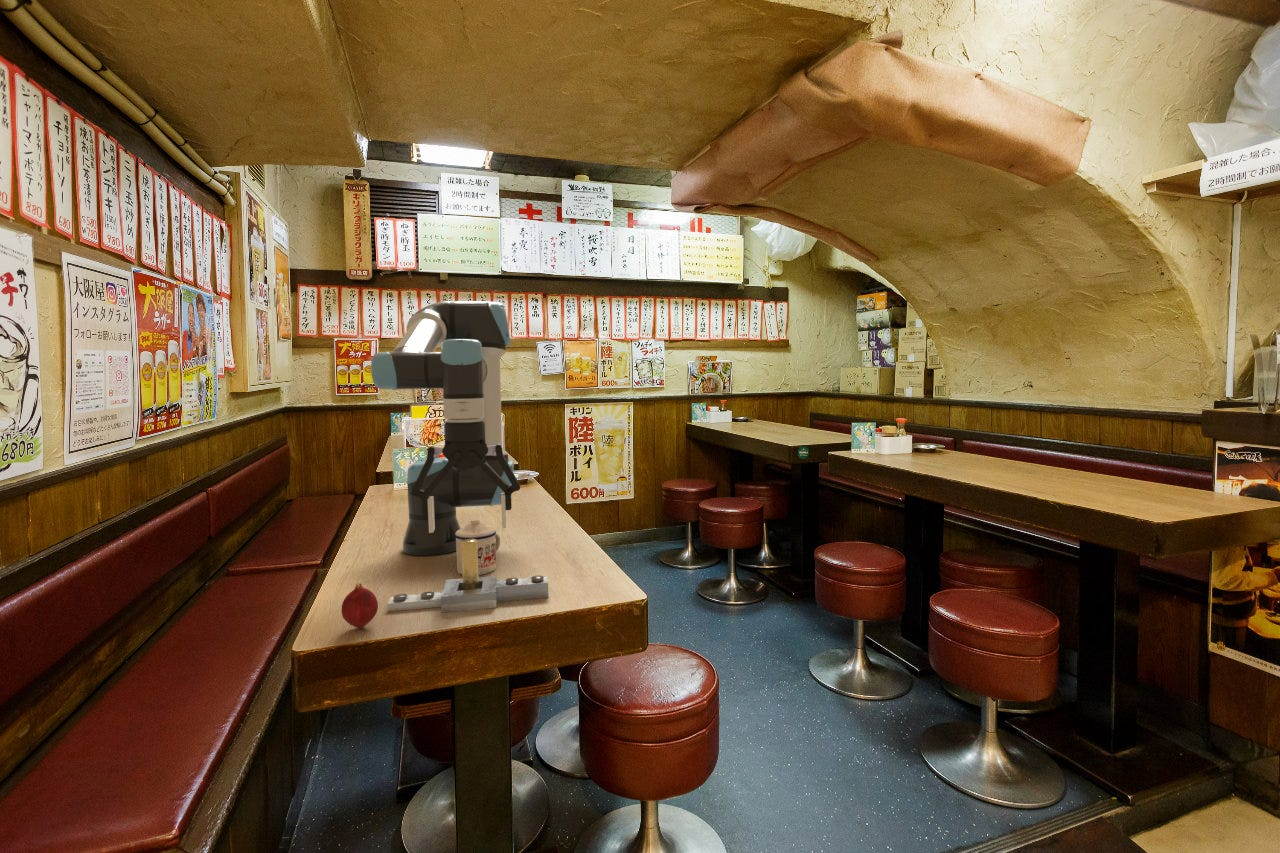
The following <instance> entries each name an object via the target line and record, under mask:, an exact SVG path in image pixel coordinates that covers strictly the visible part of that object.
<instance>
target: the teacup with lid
mask: <svg viewBox="0 0 1280 853" xmlns="http://www.w3.org/2000/svg"><path fill="white" fill-rule="evenodd" d="M455 537H456V568H457V569H456V571H457V573H458V574H460V575H462V549H461V541H462V540H465V539H477V549H478V576H481V575H482V576H483V575H486V574H490V573H491V572H493V571H495V570H496V569H497V555H496V553H497V552H498V551H499V549H500V546H501V536H500V535H499V534H498V533H497V531H496V529H495V528H494V527H493V526H488V525H486V524H484V523H481V521H480V519H479V518H478V519H476V518H474V519H471V521H470V524H467V525H466V526H464V527H461V529H459V530H458V531H456V533H455Z"/></svg>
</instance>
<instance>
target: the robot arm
mask: <svg viewBox="0 0 1280 853" xmlns="http://www.w3.org/2000/svg"><path fill="white" fill-rule="evenodd" d="M506 311H507V310H506V307H505V305H504V304H503V303H502V302H499V301H488V300H484V301H483V300H482V301H480V300H478V301H477V300H475V301H472V300H470V301H469V300H468V301H463V300H462V301H455V300H453V301H452V300H445V301H437V302H435V303H434V302H433V303H431V304H429V305H427V306H424V307H423V308H421V309H419V310H417V311H416V312H415V313H414V314H413V315H412V316H411V317H410V319H409V320H408V322H407V324H406V332H405V333H404V335H403V336H402V338H401V339H400V341H399V342H398V344H396V346H395V347H394V349H393V351H384V352H383V351H382V352H375V353H374V354H373V356H372V358H371V364H370V372H371V379H372V382H373V384H374V386H375V387H376V388H377V389H379V390H392V391H396V390H399V391H400V390H428V389H430V390H431V389H432V390H433V389H437V390H439V389H441V390H442V392H443V393H442V400H443V401H442V403H443V407H442V408H443V419H445V420H446V421H445V423H444V424H443V431H444V445H443V447H438V446H434V445H429V447H428V448H427V450H426V451H427V452H426V454H427V455H426V459H424V460H421V461H418V462H414V463H412V464H411V465H409V466H408V468H407V479H406V485H407V503H408V524H407V527H406V530H405V533H404V537H403V540H402V552H403V553H404V554H406V555H411V556H419V557H420V556H422V557H423V556H437V555H443V554H448V553H452V552H455V551H456V537H455V533H456V531H458V530H459V529H462V527H461V525H460V523H459V520H458V516H457V508H465V507H466V508H467V507H486V506H487V507H489V506H490V507H493V506H499V505H500V506H501V529H507V511H511V510H512V494H513V493H515V492H518V491H520V489H521V484H520V482H519V480H518V478H517V476H516V475H515V473H514V466H515V462H514V460H511V459H509V453H508V452H507V451H506V450H505V449H504V447H503V430H502V428H503V426H502V421H503V420H502V391H501V390H502V389H501V388H502V387H501V385H502V384H501V383H502V382H501V358H502V357H503V356H504V355H505V354H506V353H507V352H506V347H509V346H511V344H512V342H511V336H510V330H509V324H508V317H507V312H506ZM439 347H441V350H440V351H436V349H437V348H439ZM440 455H443V457H439V456H440ZM456 552H457V551H456Z"/></svg>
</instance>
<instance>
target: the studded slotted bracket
mask: <svg viewBox="0 0 1280 853" xmlns="http://www.w3.org/2000/svg"><path fill="white" fill-rule="evenodd" d="M478 580H479V589H472V590H463V578H455V579H454V578H451V579H449V578H448V579H446V580H445V583H444V586H443V589H442V591H440V592H434V591H424V592H422V593H418V594H417V593H416V594H407V593H399V594H395V595H394V596H390V598H389V600H388V602H387V603H386V606H387V607H386V609H387V610H386V611H387V612H396V611H397V612H398V611H409V610H421V609H433V607H434V608H440V610H441V611H440V613H441V612H442V613H450V612H451V613H452V612H462V611H474V610H486V609H495V608H497V604H498V603H500V602H512V601H522V600H523V601H524V600H533V599H534V600H535V599H544V598H545V599H546V598H547V599H548V598H549V581H548V576H546V575H545V576H543V575H533V576H531V577H524V578H518V577H515V576H513V577H508V578H506V579H500V580H498V575H491V576H489V575H488V576H478Z"/></svg>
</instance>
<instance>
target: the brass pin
mask: <svg viewBox="0 0 1280 853" xmlns="http://www.w3.org/2000/svg"><path fill="white" fill-rule="evenodd" d="M461 549H462V574H461V575H462V578H463V590H472V589H479V580H478V577H479V575H478V549H477V539H465V540H462V541H461ZM462 578H461V579H462Z"/></svg>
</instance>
